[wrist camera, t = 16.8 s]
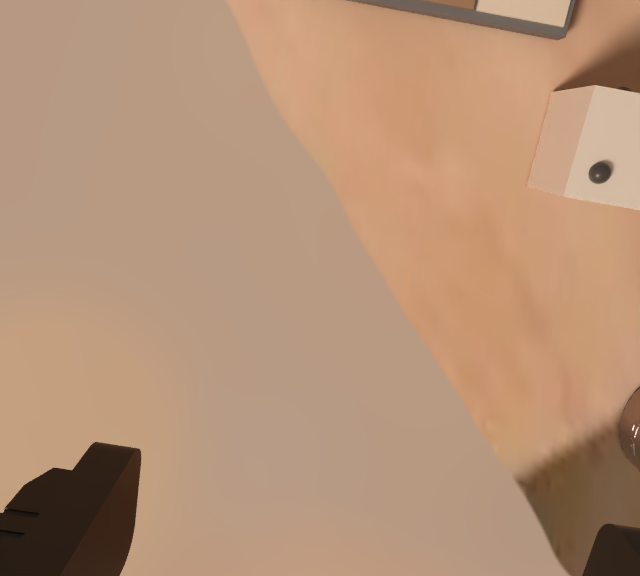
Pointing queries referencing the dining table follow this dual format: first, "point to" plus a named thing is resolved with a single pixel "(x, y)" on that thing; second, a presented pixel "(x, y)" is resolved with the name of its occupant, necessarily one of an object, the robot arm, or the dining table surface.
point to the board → (494, 13)
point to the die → (590, 146)
